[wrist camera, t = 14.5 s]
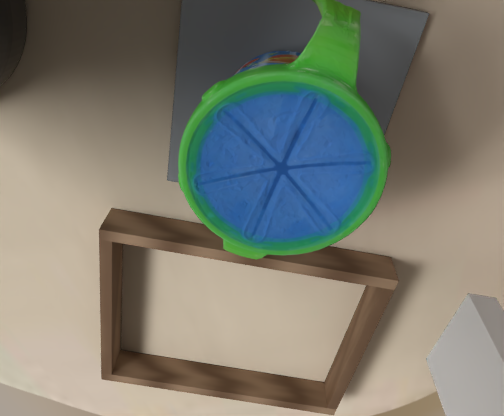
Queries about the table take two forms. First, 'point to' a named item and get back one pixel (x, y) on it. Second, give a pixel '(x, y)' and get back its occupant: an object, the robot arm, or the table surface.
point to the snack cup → (287, 147)
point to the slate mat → (285, 49)
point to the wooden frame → (211, 246)
